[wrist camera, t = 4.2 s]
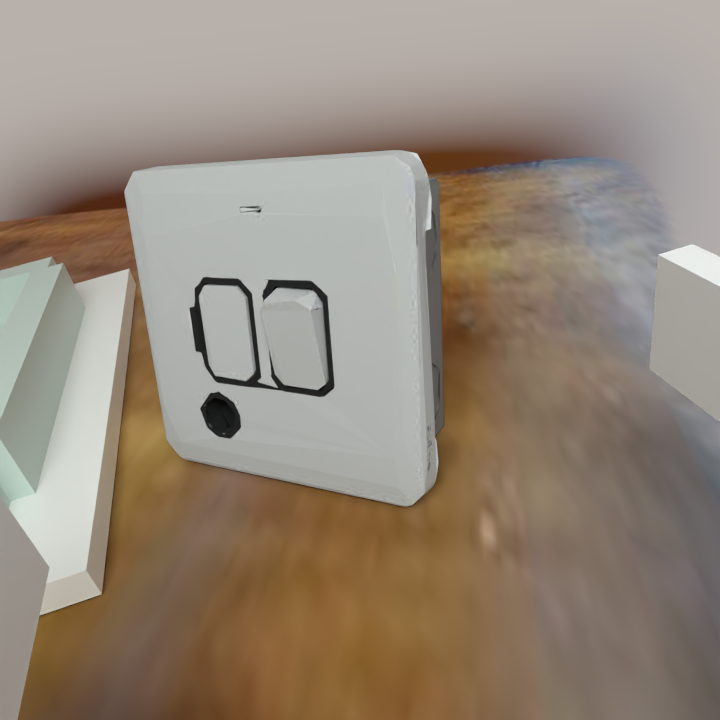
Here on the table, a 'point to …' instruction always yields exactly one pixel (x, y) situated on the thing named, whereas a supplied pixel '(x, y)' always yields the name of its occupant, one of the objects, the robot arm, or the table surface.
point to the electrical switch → (297, 317)
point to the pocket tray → (63, 415)
